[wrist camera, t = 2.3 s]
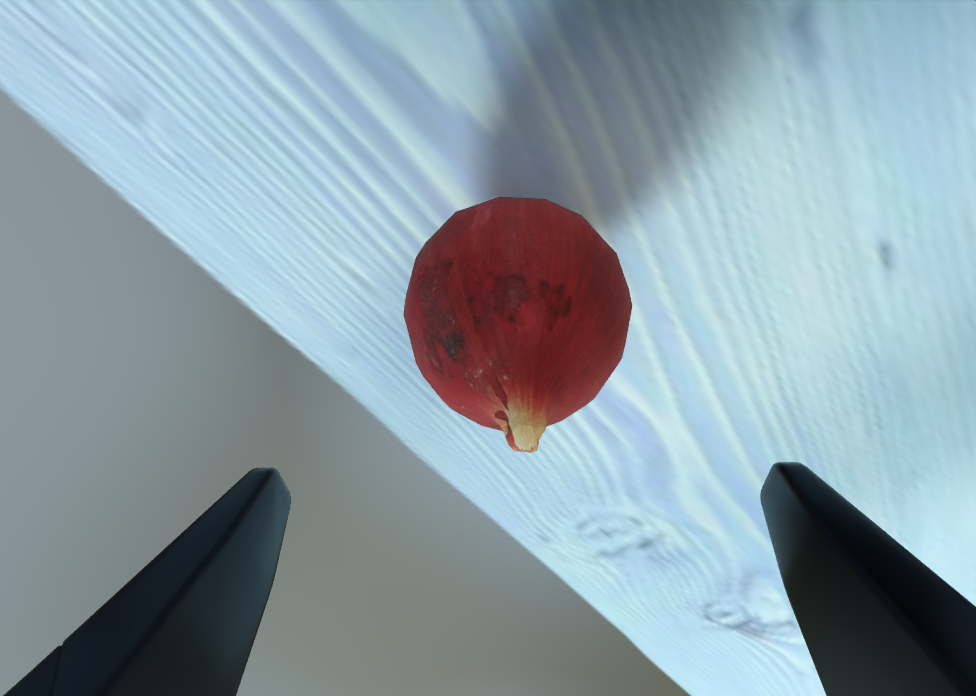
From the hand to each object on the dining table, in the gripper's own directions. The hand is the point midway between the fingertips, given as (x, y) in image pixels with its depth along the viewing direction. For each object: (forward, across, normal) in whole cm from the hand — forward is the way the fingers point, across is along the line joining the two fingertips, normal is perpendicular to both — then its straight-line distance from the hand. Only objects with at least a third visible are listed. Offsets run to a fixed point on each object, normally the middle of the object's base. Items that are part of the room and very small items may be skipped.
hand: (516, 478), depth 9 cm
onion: (+9, 0, 0) cm, 9 cm away
